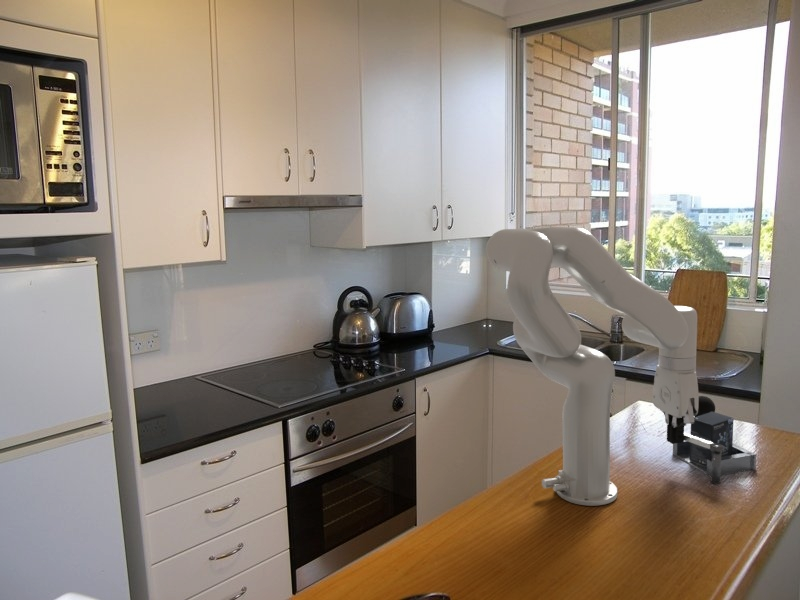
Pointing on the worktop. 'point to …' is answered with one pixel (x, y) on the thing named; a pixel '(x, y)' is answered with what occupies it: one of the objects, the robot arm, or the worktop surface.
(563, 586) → the worktop surface
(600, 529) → the worktop surface
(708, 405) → the light bulb
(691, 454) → the box
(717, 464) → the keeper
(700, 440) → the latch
